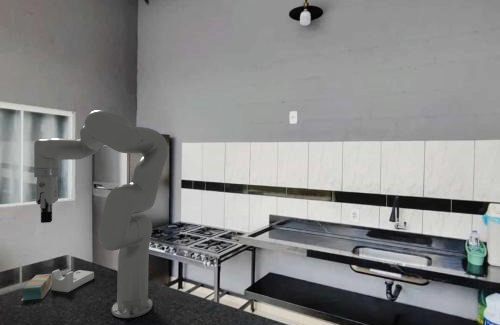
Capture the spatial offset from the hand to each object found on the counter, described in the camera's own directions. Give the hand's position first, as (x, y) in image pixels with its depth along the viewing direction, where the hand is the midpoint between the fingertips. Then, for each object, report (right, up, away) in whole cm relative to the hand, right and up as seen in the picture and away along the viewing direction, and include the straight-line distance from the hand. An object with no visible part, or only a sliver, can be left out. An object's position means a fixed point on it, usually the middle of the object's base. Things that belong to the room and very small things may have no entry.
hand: (46, 222), depth 113 cm
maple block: (-3, -22, +2) cm, 22 cm away
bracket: (+8, -26, +4) cm, 27 cm away
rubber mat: (-2, -25, 0) cm, 25 cm away
